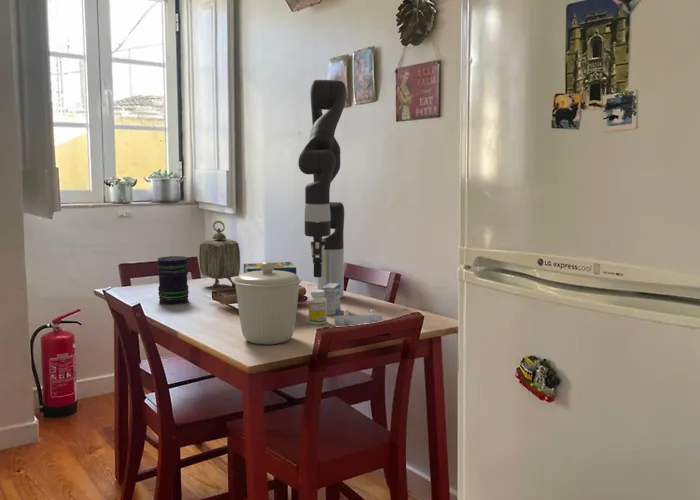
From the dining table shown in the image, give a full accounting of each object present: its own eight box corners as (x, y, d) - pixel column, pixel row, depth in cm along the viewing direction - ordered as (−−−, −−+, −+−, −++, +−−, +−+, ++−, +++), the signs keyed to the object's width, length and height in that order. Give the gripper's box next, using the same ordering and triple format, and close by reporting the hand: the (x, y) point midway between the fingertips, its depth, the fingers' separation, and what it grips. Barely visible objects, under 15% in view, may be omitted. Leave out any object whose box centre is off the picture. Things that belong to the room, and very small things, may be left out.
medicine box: (335, 315, 209) (335, 287, 208) (321, 314, 210) (321, 287, 209) (340, 309, 217) (340, 283, 216) (327, 309, 218) (327, 282, 216)
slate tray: (334, 320, 201) (334, 306, 201) (381, 320, 202) (381, 305, 201) (335, 334, 186) (335, 318, 185) (386, 334, 186) (386, 318, 186)
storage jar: (187, 298, 234) (186, 255, 232) (190, 303, 225) (189, 259, 223) (158, 300, 231) (156, 256, 229) (159, 305, 222) (157, 261, 220)
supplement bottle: (322, 325, 196) (322, 293, 195) (305, 323, 198) (305, 291, 197) (329, 321, 201) (329, 289, 200) (313, 319, 203) (313, 288, 202)
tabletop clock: (240, 287, 255) (239, 221, 251) (221, 290, 248) (219, 223, 245) (218, 282, 265) (216, 219, 261) (198, 285, 258) (196, 220, 255)
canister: (302, 348, 172) (302, 266, 169) (230, 350, 170) (229, 267, 168) (302, 330, 190) (301, 256, 187) (237, 332, 188) (235, 257, 185)
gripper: (305, 217, 202) (305, 270, 204) (303, 221, 188) (304, 278, 190) (330, 217, 203) (330, 270, 205) (330, 221, 188) (330, 278, 190)
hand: (317, 274), depth 197 cm, fingers open, 8 cm apart
